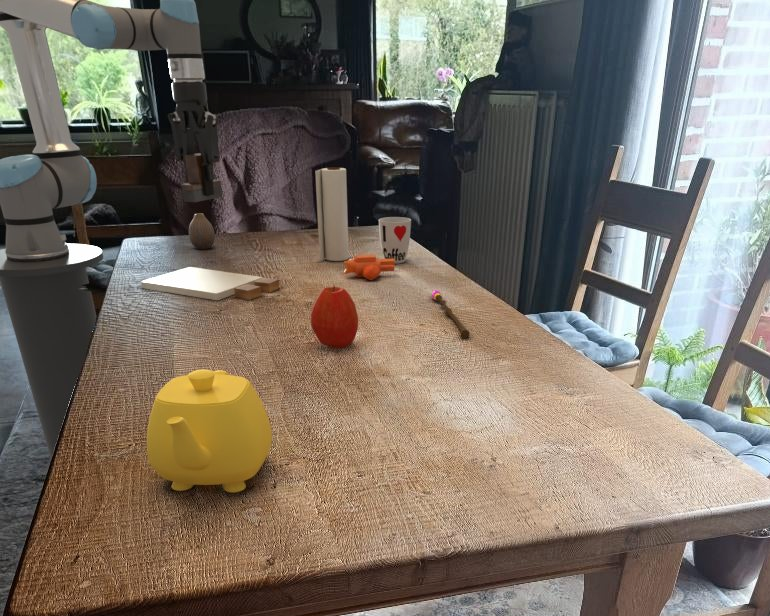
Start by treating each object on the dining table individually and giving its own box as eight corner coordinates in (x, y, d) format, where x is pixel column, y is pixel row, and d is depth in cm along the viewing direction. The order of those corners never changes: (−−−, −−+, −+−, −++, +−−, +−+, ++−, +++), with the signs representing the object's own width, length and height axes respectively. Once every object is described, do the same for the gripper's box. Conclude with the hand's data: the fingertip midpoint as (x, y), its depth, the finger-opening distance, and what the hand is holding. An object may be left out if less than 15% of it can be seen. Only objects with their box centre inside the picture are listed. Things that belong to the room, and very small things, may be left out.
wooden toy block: (183, 201, 169) (177, 156, 164) (211, 195, 176) (206, 152, 171) (194, 202, 167) (188, 156, 162) (222, 196, 175) (217, 153, 170)
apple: (307, 352, 122) (303, 289, 117) (318, 337, 129) (314, 277, 124) (354, 354, 121) (352, 291, 116) (362, 339, 128) (361, 278, 123)
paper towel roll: (349, 256, 186) (346, 166, 175) (348, 261, 181) (345, 169, 170) (322, 256, 186) (317, 166, 175) (319, 261, 181) (315, 169, 170)
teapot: (285, 443, 92) (277, 348, 86) (249, 526, 75) (235, 416, 69) (183, 440, 93) (166, 346, 86) (124, 522, 76) (98, 413, 70)
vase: (206, 251, 193) (201, 216, 188) (185, 249, 195) (180, 215, 190) (221, 246, 198) (217, 212, 193) (201, 244, 200) (196, 211, 196)
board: (142, 288, 160) (140, 281, 159) (190, 273, 172) (189, 266, 171) (217, 300, 151) (216, 293, 150) (263, 283, 163) (262, 277, 162)
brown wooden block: (235, 297, 153) (234, 287, 152) (248, 293, 156) (247, 284, 155) (248, 300, 151) (247, 290, 150) (261, 295, 154) (260, 286, 153)
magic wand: (469, 341, 129) (435, 296, 154) (473, 332, 128) (438, 287, 153) (458, 338, 128) (425, 293, 153) (462, 328, 127) (429, 284, 152)
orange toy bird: (393, 248, 167) (342, 250, 165) (398, 266, 162) (346, 268, 160) (391, 268, 170) (342, 270, 169) (397, 285, 166) (346, 288, 164)
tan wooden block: (254, 290, 157) (253, 281, 156) (264, 286, 160) (263, 277, 159) (270, 292, 156) (269, 283, 155) (279, 288, 159) (278, 279, 158)
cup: (376, 264, 178) (375, 222, 173) (382, 257, 185) (381, 216, 180) (408, 265, 177) (408, 222, 172) (412, 258, 184) (413, 217, 179)
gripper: (148, 81, 160) (166, 194, 172) (205, 81, 153) (218, 199, 165) (172, 80, 165) (187, 190, 178) (227, 81, 158) (239, 194, 171)
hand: (202, 194), depth 171 cm, fingers closed on wooden toy block, 3 cm apart
